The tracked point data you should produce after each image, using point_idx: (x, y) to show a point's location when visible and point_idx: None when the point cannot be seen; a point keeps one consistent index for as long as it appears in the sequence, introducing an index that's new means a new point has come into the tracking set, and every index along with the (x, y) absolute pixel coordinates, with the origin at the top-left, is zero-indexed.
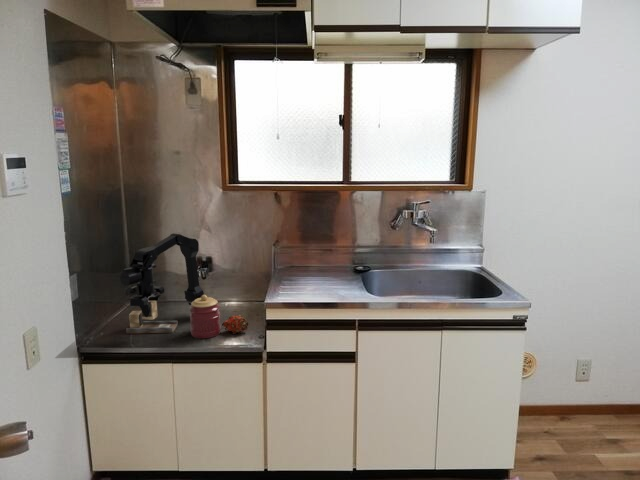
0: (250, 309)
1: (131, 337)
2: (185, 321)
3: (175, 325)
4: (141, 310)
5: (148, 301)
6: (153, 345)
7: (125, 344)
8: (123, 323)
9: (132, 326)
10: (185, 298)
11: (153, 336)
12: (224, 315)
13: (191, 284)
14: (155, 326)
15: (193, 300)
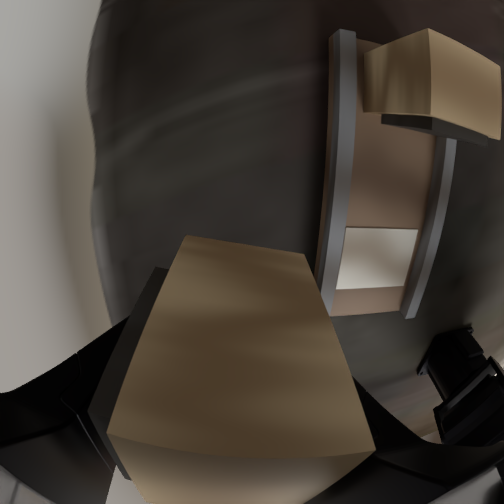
0: (427, 427)
1: (257, 84)
2: (430, 319)
3: (379, 311)
4: (152, 311)
5: (266, 493)
6: (132, 263)
7: (139, 93)
8: (464, 22)
9: (374, 65)
10: (494, 392)
11: (263, 224)
12: (421, 402)
13: (498, 472)
14: (395, 208)
15: (457, 421)
